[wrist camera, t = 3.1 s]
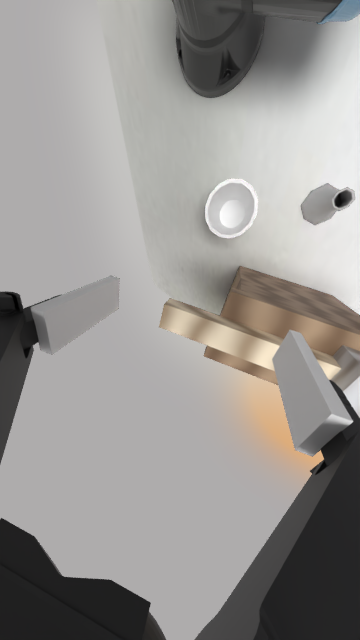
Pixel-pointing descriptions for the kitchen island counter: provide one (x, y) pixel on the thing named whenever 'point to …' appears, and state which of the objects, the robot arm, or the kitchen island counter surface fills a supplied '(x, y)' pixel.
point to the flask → (326, 203)
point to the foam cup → (231, 208)
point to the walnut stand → (286, 317)
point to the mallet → (257, 344)
